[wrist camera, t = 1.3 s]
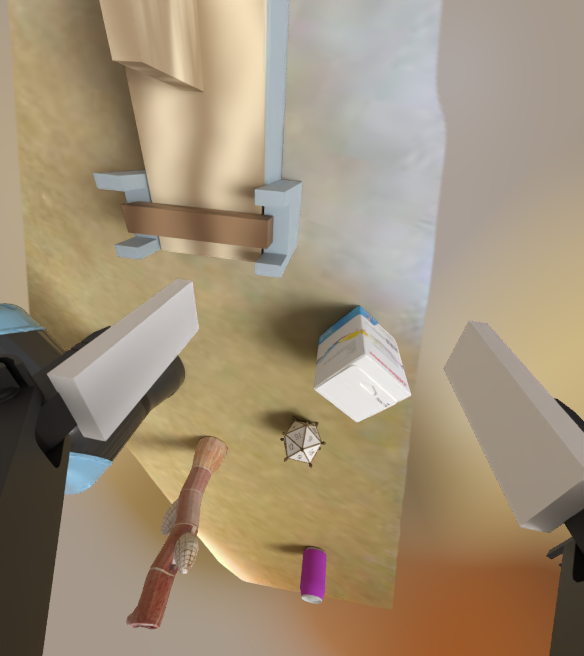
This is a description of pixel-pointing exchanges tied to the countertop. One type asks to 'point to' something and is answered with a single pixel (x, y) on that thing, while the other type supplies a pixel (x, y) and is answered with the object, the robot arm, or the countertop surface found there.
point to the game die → (302, 442)
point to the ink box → (359, 366)
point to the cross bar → (199, 224)
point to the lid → (196, 103)
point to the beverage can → (313, 575)
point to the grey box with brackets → (276, 193)
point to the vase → (178, 536)
